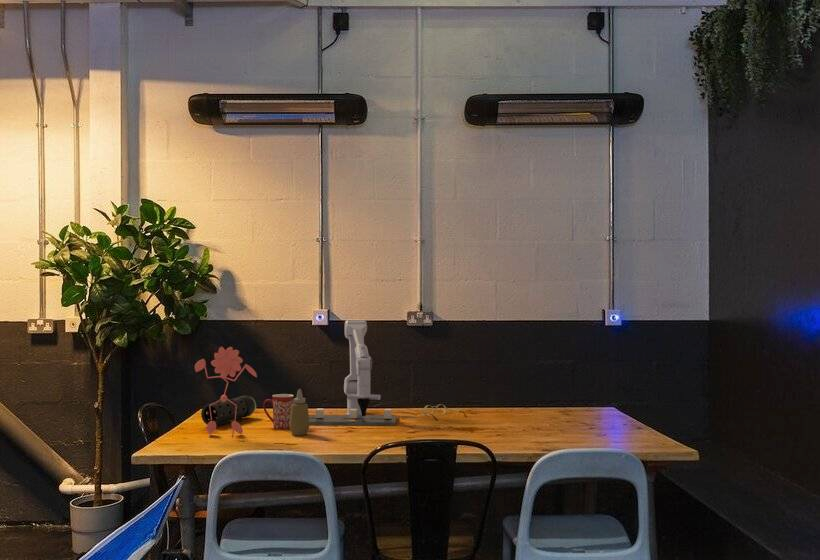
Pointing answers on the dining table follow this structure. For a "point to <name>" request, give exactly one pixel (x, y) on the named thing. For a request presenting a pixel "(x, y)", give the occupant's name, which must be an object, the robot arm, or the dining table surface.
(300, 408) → the squeeze bottle
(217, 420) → the muzzle brake
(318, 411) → the beige block
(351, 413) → the block
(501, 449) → the dining table surface
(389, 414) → the block
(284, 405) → the mug
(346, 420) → the breaker panel
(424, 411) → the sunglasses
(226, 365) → the figurine
